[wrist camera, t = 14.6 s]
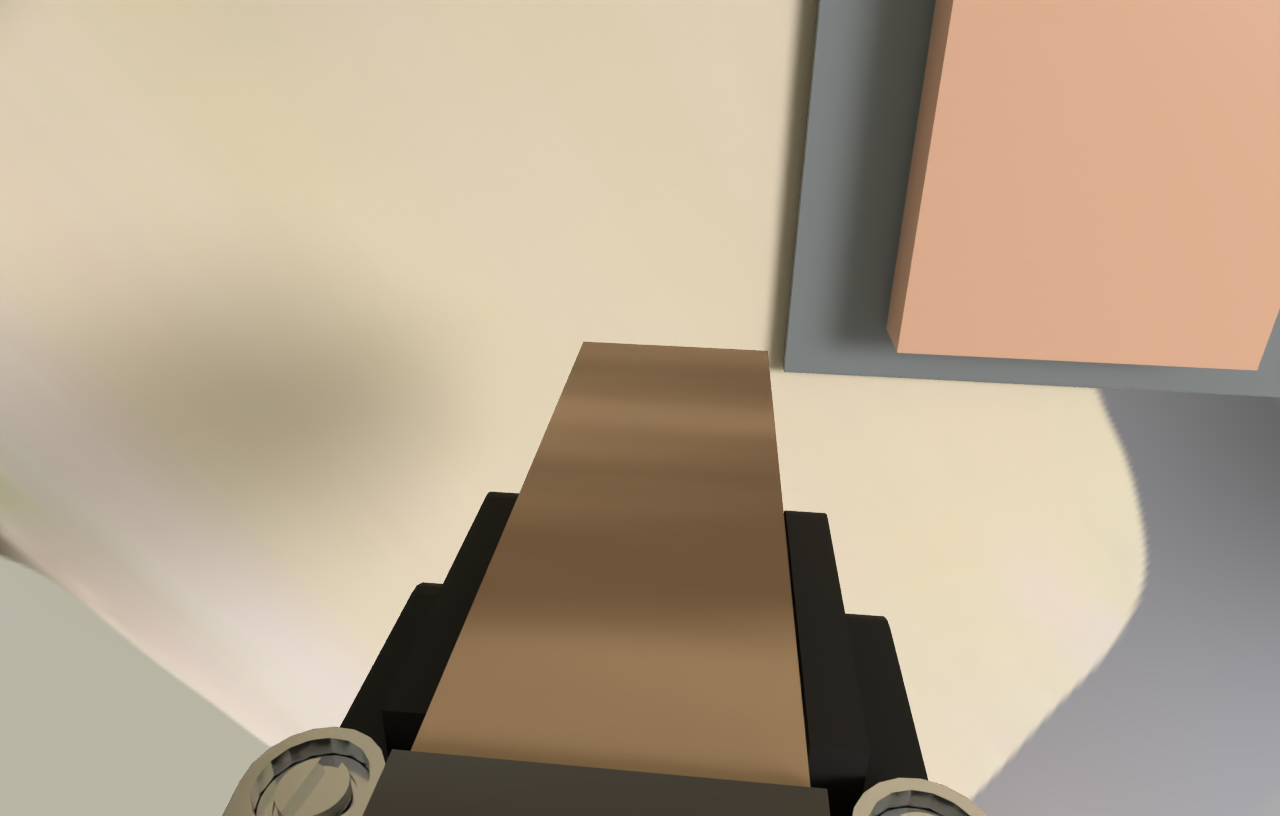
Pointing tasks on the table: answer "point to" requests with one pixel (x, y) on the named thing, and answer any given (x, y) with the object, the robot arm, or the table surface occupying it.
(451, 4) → the table surface
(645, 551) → the banded brown box
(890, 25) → the mat
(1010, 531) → the table surface
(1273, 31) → the tile
